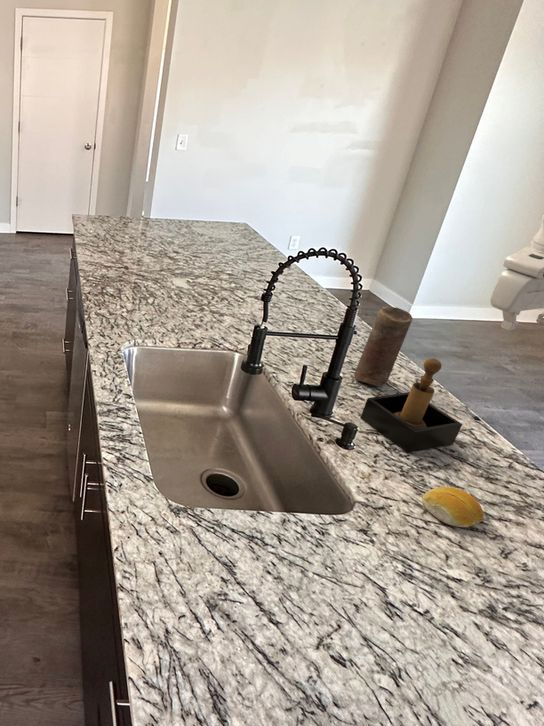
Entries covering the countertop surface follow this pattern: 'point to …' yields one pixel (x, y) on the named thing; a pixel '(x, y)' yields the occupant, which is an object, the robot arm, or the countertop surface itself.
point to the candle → (383, 346)
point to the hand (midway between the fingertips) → (525, 326)
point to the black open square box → (435, 435)
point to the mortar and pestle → (420, 396)
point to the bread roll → (453, 506)
